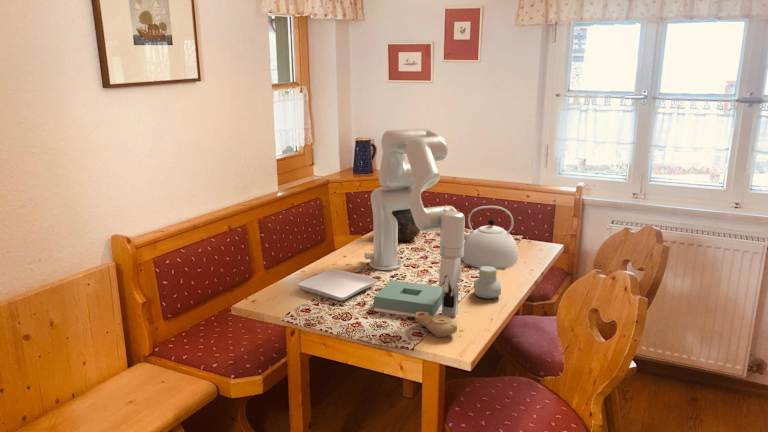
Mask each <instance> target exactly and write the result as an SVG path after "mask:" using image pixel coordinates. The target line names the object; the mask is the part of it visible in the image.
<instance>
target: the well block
mask: <svg viewBox="0 0 768 432" xmlns="http://www.w3.org/2000/svg"><path fill="white" fill-rule="evenodd" d="M442 291H443V286H442V287H440V286H439V285H438V286H437V285H431V284H430V285H429V284H424V283H423V284H422V283H417V282H415V283H414V282H407V281H400V280H394V279H390V280H389V281H388V282H387V283H386V284H385V285H384V286H383V287H381V289H380V290H379V291H378V292H377V293H376V294H375V295H374V296H373V310H374V311H376V312H381V313H386V314H394V315H401V316H407V317H414V318H415V313H417V312H428V314H429V315H432V316H437V314H438V313H439V312H440V311H441V310H442ZM438 311H439V312H438Z"/></svg>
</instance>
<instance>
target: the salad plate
mask: <svg viewBox="0 0 768 432" xmlns="http://www.w3.org/2000/svg"><path fill="white" fill-rule="evenodd" d="M377 282H378V279H377V278H374V277H373V278H372V277H369V276H365V275H362V274H358V273H354V272H351V271H346V270H343V269H338V268H331V269H328V270H326V271H324V272H321V273H318V274H316V275H313V276H312V277H309V278H307V279H304V280H302V281H299V282H297V283H296V286H297V287H298V288H299V289H302V290H304V291H307V292H310V293H311V294H316V295H318V296H321V297H325V298H329V299H331V300H332V299H333V300H336V301H340V302H343V301H345V300H347V299H349V298H351V297H352V296H355V295H357V294H358V293H360V292H363V291H364V290H367V289H369V288H371V287H372V286H374V285H375V284H376V283H377Z"/></svg>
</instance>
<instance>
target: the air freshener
mask: <svg viewBox="0 0 768 432" xmlns="http://www.w3.org/2000/svg"><path fill="white" fill-rule="evenodd" d="M497 274H498V273H497V269H496V268H494V267H491V266H483V267H479V271H478V278H476V279H475V280H474V282H473V291H474V295H475V296H477V297H478V298H481V299H494V298H497V297H499V296H500V295H501V294H502V288H501V287H502V286H501V283H500V280H498V279H497Z"/></svg>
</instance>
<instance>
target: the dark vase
mask: <svg viewBox="0 0 768 432" xmlns="http://www.w3.org/2000/svg"><path fill="white" fill-rule="evenodd" d="M392 214H393V216H394V217H395V218H396V220H397V223H398V242H407V241H410V240H411V241H412V240H413V239H414V238H416V237H418V235H419V234H420V231H421V230H419V229H418V227H417V226H416V224H415V222H414V219H413V216H412V212H411V209H406V210H397V211H392Z"/></svg>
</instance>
